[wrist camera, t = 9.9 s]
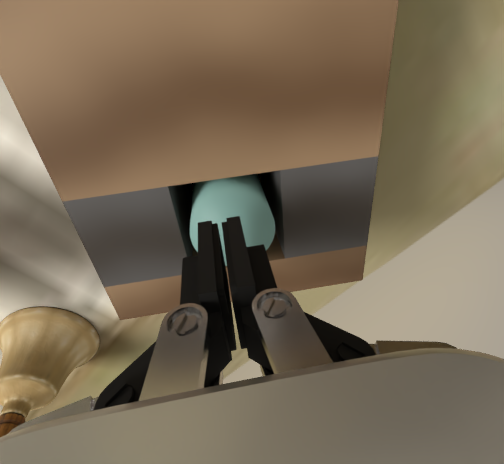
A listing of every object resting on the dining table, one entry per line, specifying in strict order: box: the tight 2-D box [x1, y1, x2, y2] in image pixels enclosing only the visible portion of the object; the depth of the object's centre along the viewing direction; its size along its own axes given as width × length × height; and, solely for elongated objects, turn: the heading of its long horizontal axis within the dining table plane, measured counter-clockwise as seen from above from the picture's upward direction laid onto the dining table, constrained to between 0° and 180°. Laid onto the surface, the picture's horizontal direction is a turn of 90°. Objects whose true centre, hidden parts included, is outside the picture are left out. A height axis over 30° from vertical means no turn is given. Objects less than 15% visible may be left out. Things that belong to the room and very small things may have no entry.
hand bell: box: [0, 307, 100, 437], centre depth 22 cm, size 8×8×16 cm
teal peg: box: [190, 174, 275, 266], centre depth 17 cm, size 4×4×7 cm
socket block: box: [0, 0, 399, 320], centre depth 15 cm, size 22×14×8 cm, turn 6°
